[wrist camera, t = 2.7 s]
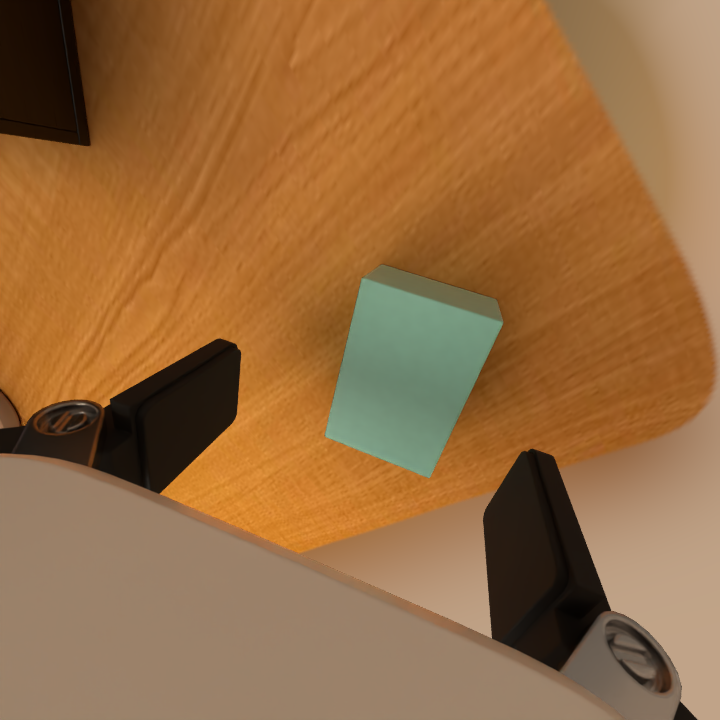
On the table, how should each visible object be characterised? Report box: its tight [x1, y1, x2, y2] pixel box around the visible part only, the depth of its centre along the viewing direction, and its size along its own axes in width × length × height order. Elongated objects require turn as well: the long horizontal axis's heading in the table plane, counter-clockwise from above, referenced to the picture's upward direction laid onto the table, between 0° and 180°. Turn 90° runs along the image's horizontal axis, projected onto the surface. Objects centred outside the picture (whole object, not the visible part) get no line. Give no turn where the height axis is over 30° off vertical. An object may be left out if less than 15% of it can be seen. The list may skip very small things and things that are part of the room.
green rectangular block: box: [325, 264, 503, 478], centre depth 14 cm, size 5×8×3 cm, turn 167°
